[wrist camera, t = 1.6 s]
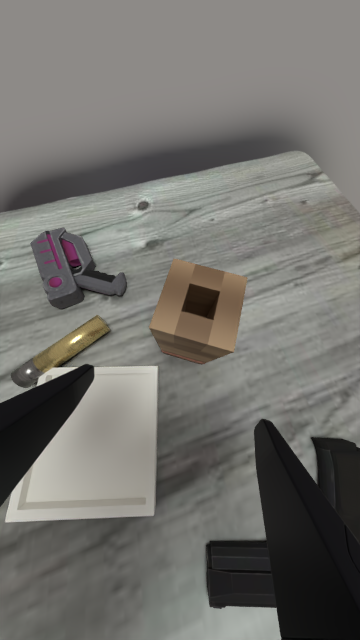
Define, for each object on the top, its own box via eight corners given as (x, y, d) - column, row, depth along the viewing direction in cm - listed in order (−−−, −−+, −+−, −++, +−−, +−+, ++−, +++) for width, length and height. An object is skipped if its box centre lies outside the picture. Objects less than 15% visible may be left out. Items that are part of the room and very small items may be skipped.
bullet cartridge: (35, 386, 19) (16, 388, 17) (26, 370, 20) (7, 369, 18) (112, 332, 22) (104, 327, 19) (102, 318, 22) (94, 312, 20)
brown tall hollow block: (201, 364, 21) (234, 353, 9) (162, 353, 21) (147, 327, 10) (210, 327, 22) (248, 277, 11) (174, 316, 23) (173, 257, 11)
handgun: (203, 441, 17) (210, 627, 13) (370, 443, 17) (436, 636, 12) (200, 433, 20) (206, 587, 15) (345, 435, 19) (393, 593, 15)
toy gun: (102, 231, 28) (37, 248, 26) (95, 213, 25) (21, 230, 23) (134, 296, 25) (62, 324, 22) (130, 283, 22) (46, 314, 19)
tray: (155, 503, 16) (153, 515, 15) (20, 509, 16) (4, 522, 15) (158, 366, 20) (157, 365, 19) (50, 368, 20) (41, 367, 19)
